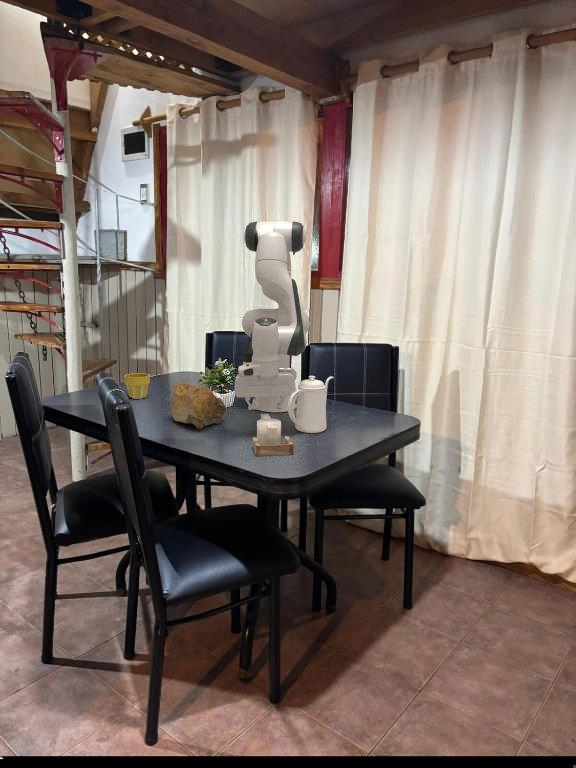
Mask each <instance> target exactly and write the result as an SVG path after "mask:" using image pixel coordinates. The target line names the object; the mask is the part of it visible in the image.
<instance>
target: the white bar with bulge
mask: <svg viewBox="0 0 576 768" xmlns="http://www.w3.org/2000/svg"><path fill="white" fill-rule="evenodd" d="M256 437H257V440H258V442H259V444H260V445H277V444H282V443H281V442H282V421H281V420H280V419H278V418H271V416H270V414H269V413H260V419H258V420H257V421H256Z"/></svg>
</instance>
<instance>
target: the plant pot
mask: <svg viewBox="0 0 576 768" xmlns="http://www.w3.org/2000/svg"><path fill="white" fill-rule="evenodd" d="M123 379H124V384H125V385H126V389H127V393H128V397H129V396H130V397H132V398H141V397H146V398H147V395H148V390H149V384H150V383H151V375H150V373H143V372H137V373H134V372H133V373H126V374H125V375H124V377H123ZM130 397H129V398H130Z"/></svg>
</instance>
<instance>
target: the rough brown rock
mask: <svg viewBox="0 0 576 768" xmlns="http://www.w3.org/2000/svg"><path fill="white" fill-rule="evenodd" d="M226 408H227V407H226V405H225V403H224V401H223V399H222V398H220V397H217V396H216V395H215V394H214V392H213V390H212V389H211V388H209V387H207V386H203V387H202V386H199V385H191V384H189V383H188V382H187V383H186V382H183V381H176V382H175V384H174V388H173V396H172V398H171V413H172V415H171V416H172V418H173V420H174V421H175V422H177V423H183V424H192V425H193V426H195V428H197V429H198V430H200V429H203V428H204V427H206V426H209V425H212V424H217V425H218V424H221V423H222V421H223V418H224V417H223V416H224V415H225V412H226V410H227V409H226Z"/></svg>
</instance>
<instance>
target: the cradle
mask: <svg viewBox="0 0 576 768" xmlns="http://www.w3.org/2000/svg"><path fill="white" fill-rule="evenodd" d="M283 443H284V444H283ZM283 443H281V444H277V445H260V444H259V442H258V440H257V436H256V437H252V449H253V451H254V454H255V456H256V457H261V456H262V457H263V456H265V457H267V456H268V457H269V456H286V455H287V456H288V455H291V456H292V455H294V449H295V448H294V443H293V442H292V440H291V438H290V437H289V436H288V435H287V436H284V442H283Z"/></svg>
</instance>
